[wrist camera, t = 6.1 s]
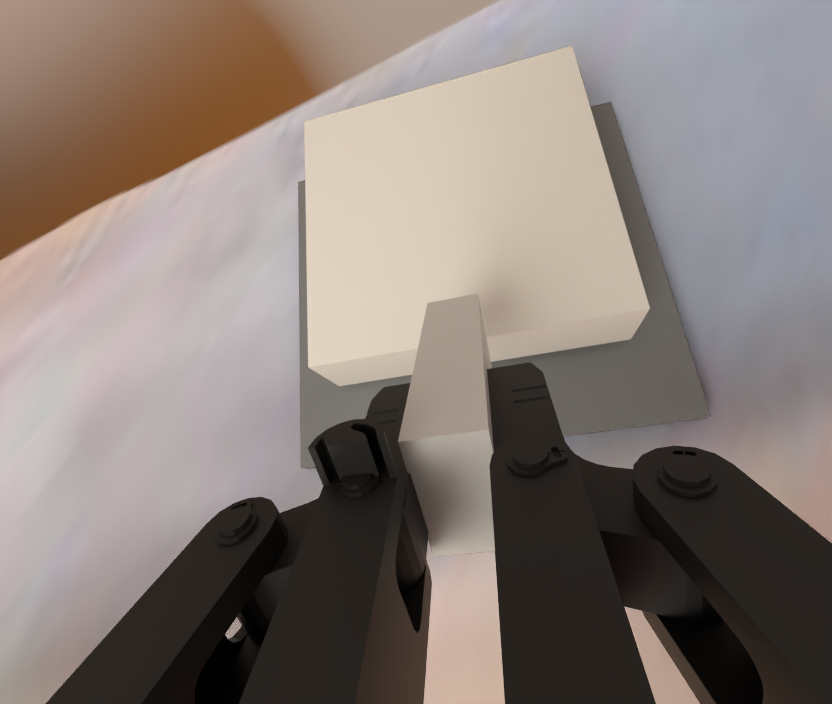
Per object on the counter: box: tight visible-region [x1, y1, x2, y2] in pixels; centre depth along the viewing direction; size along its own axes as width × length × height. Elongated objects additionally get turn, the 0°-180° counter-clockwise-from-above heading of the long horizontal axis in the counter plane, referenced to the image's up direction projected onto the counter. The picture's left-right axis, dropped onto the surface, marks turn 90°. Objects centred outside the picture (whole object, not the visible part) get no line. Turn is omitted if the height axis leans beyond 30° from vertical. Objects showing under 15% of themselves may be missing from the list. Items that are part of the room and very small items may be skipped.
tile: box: [304, 46, 650, 386], centre depth 19 cm, size 12×3×12 cm
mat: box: [298, 102, 711, 469], centre depth 21 cm, size 16×15×1 cm
